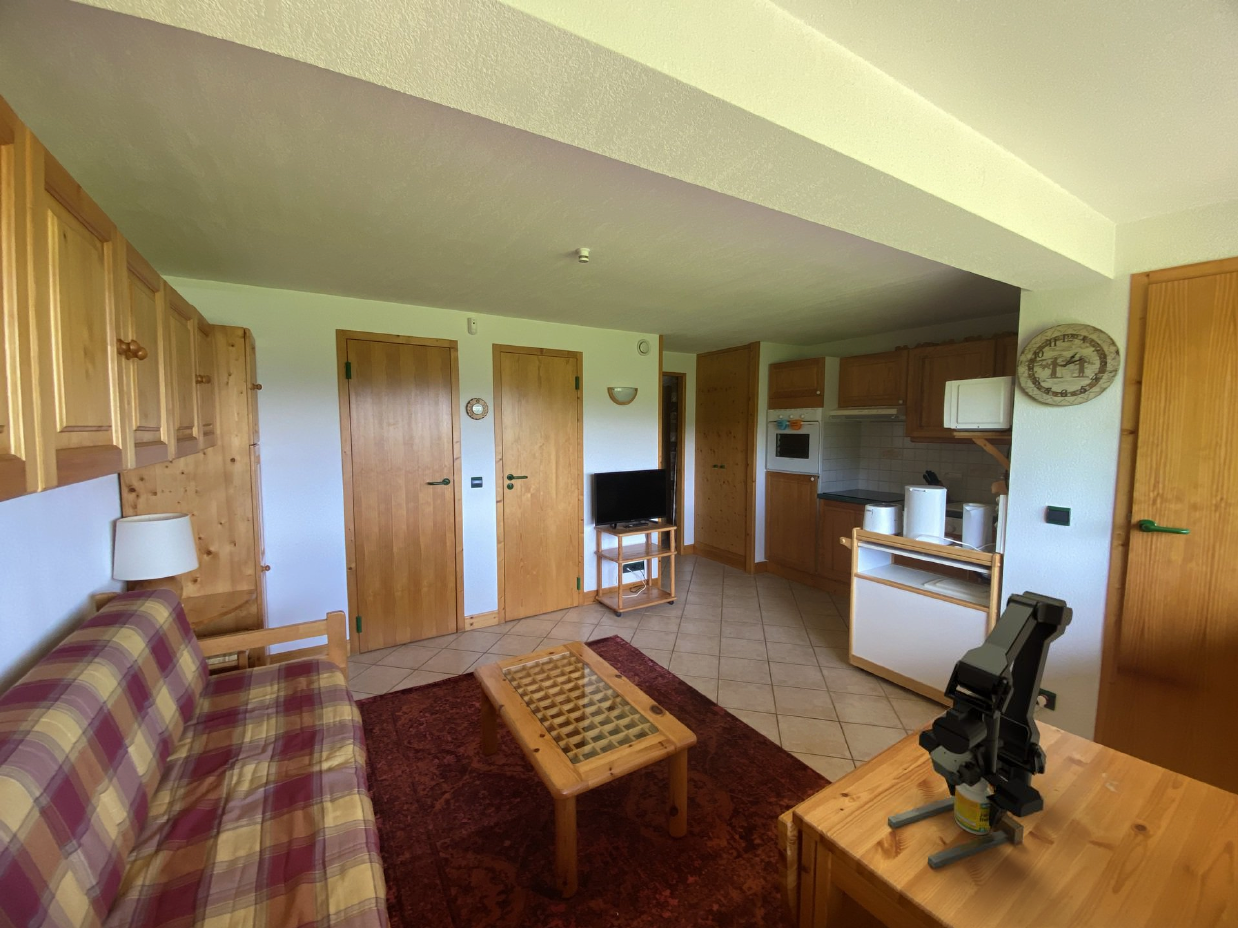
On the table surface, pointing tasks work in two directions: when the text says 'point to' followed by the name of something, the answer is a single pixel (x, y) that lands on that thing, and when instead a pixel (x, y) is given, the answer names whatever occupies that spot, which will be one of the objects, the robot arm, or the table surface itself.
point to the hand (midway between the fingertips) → (972, 810)
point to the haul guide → (1005, 833)
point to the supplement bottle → (973, 807)
